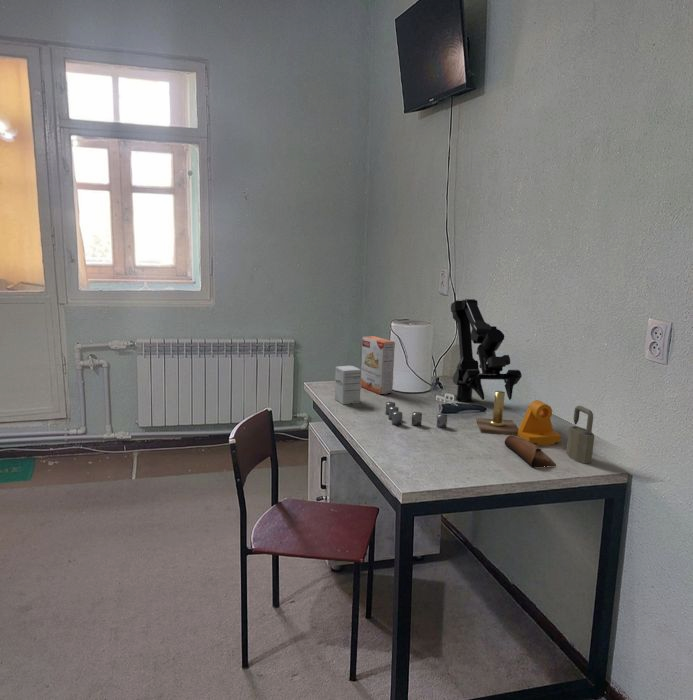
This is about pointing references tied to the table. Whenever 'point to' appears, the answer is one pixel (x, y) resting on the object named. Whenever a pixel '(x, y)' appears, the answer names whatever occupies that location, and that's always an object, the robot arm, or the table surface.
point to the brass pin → (498, 410)
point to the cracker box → (377, 364)
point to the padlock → (581, 438)
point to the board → (487, 428)
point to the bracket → (538, 425)
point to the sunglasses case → (529, 452)
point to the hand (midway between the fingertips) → (497, 399)
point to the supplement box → (347, 384)
